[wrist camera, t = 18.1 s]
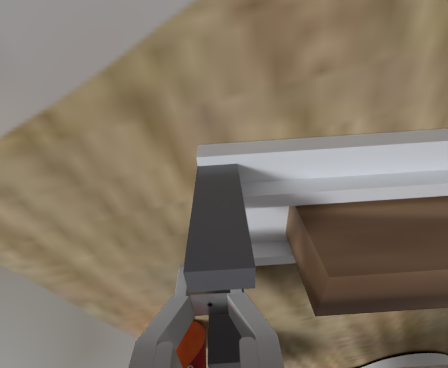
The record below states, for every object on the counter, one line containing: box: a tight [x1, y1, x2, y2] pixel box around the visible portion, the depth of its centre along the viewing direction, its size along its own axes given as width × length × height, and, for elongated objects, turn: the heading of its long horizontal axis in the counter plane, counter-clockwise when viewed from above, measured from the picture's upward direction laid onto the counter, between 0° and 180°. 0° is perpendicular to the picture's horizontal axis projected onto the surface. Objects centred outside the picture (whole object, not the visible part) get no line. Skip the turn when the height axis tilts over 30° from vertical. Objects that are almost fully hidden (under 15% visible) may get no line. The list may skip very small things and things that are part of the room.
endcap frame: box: [183, 129, 448, 368], centre depth 11 cm, size 9×20×9 cm, turn 93°
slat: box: [285, 196, 448, 316], centre depth 11 cm, size 3×14×5 cm, turn 93°
